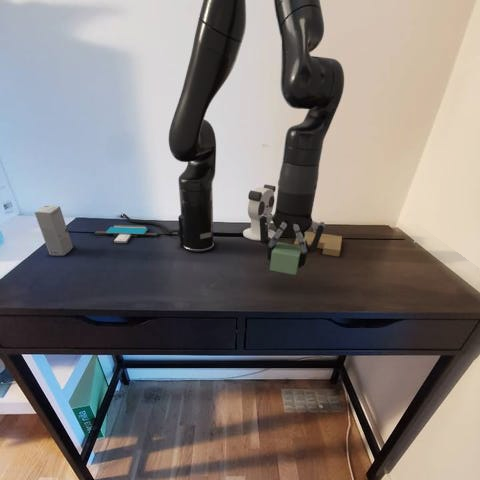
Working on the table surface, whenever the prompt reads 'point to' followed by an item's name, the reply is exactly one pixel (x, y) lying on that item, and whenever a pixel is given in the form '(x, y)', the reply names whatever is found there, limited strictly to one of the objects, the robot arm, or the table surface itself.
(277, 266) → the green rectangular block
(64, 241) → the cosmetic box
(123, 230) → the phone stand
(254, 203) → the panda figurine
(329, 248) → the base pad
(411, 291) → the table surface
